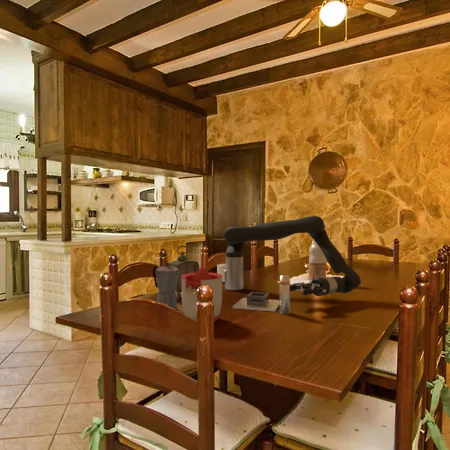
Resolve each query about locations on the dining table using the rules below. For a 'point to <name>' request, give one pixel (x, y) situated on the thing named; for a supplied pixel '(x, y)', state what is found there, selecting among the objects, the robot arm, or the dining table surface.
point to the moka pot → (166, 284)
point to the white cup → (221, 270)
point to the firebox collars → (257, 302)
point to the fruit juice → (316, 262)
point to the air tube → (284, 294)
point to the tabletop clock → (183, 268)
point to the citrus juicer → (193, 283)
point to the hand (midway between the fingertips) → (296, 290)
